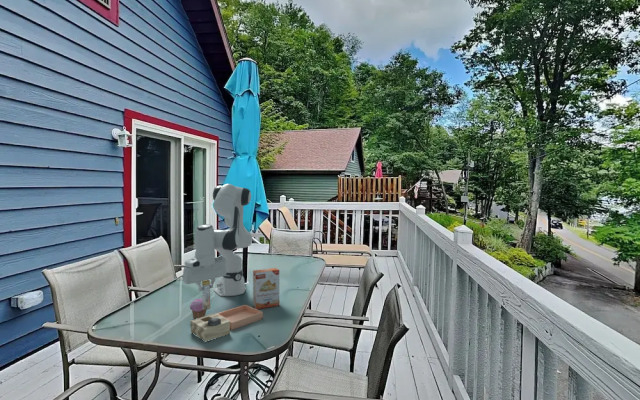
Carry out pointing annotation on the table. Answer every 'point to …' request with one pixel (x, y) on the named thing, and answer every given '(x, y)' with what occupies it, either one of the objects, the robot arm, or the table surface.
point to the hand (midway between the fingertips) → (205, 289)
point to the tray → (241, 316)
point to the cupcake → (197, 308)
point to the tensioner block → (210, 327)
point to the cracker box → (265, 288)
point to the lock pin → (206, 294)
